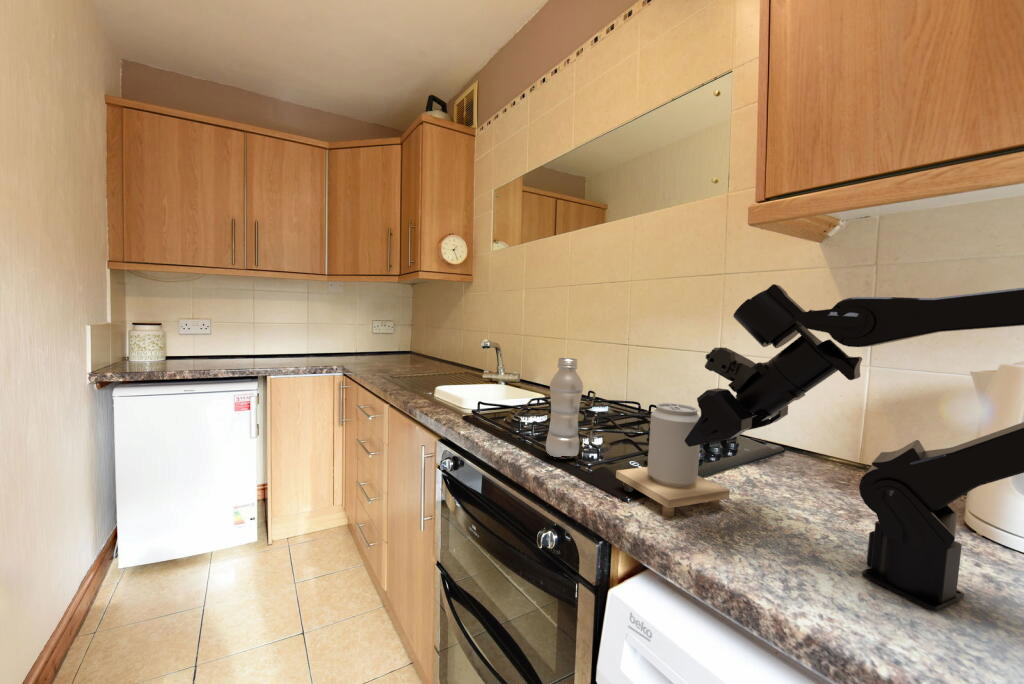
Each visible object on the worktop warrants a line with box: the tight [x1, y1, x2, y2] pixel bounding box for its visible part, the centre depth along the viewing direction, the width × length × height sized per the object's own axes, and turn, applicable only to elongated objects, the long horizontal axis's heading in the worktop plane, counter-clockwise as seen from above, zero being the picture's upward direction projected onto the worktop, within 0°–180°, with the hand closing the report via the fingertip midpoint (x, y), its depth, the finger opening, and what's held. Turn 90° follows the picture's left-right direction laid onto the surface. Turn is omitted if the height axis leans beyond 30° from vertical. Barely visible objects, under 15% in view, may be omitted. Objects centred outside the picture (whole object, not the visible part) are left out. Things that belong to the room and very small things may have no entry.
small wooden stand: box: [615, 466, 731, 518], centre depth 68 cm, size 12×12×3 cm
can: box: [647, 402, 701, 487], centre depth 68 cm, size 8×8×12 cm
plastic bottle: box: [545, 357, 584, 457], centre depth 85 cm, size 6×7×20 cm
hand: (701, 438), depth 65 cm, fingers open, 9 cm apart
